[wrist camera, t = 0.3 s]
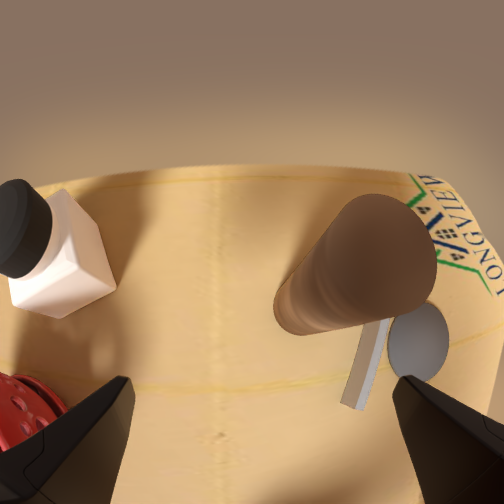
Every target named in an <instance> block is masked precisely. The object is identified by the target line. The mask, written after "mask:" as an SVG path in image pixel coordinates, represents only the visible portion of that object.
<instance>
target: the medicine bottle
mask: <svg viewBox="0 0 504 504" xmlns="http://www.w3.org/2000/svg"><path fill="white" fill-rule="evenodd" d="M0 274H2V275H4V276H7V277H8V279H9V286H10V292H11V298H12V303H13V305H14V306H15V307H18V308H21V309H25V310H28V311H32V312H35V313H39V314H43V315H46V316H50V317H54V318H58V319H61V318H63V317H65V316H67V315H69V314H70V313H72V312H74V311H76V310H78V309H80V308H82V307H84V306H86V305H88V304H90V303H92V302H93V301H95V300H97V299H99V298H101V297H103V296H105V295H107V294H109V293H111V292H113V291H115V290H116V288H117V286H116V283H115V280H114V277H113V274H112V271H111V268H110V265H109V262H108V259H107V256H106V253H105V249H104V246H103V243H102V239H101V236H100V232H99V228H98V225H97V224H96V223H95V221H94V220H93V219H92V218H91V217H90V216H89V215H88V214H87V213H86V212H85V211H84V210H83V209H82V207H81V206H80V205H79V204H78V203H77V202H76V201H75V200H74V199H73V197H72V196H71V195H70V194H69V193H68V192H67V191H66V190H65V189H61V190H59V191H57V192H56V193H54V194H53V195H51V196H49V197H48V198H46V199H45V200H44V199H43V198H42V197H41V196H40V195H39V194H38V193H37V192H36V191H35V190H34V189H33V188H32V187H31V186H30V184H29V183H27V182H26V181H25V180H22V179H14V180H10V181H7V182H5V183H4V184H2V185H1V186H0Z"/></svg>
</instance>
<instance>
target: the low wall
mask: <svg viewBox="0 0 504 504" xmlns="http://www.w3.org/2000/svg"><path fill="white" fill-rule="evenodd" d="M389 321H390V318H388V319H384V320H379V321H375V322H371V323H366V324H364V328H363V332H362V336H361V339H360V343H359V346H358V350H357V353H356V357H355V360H354V363H353V367H352V370H351V373H350V376H349V379H348V382H347V385H346V388H345V391H344V394H343V397H342V399H341V402H340V403H342V404H344V405H347V406H349V407H351V408H353V409H357V410H362V411H363V410H364V408H365V405H366V402H367V399H368V396H369V393H370V390H371V387H372V384H373V381H374V378H375V374H376V371H377V368H378V364H379V361H380V357H381V353H382V350H383V346H384V342H385V338H386V334H387V330H388V325H389Z"/></svg>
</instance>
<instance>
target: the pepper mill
mask: <svg viewBox="0 0 504 504" xmlns="http://www.w3.org/2000/svg"><path fill="white" fill-rule="evenodd" d="M436 273H437V257H436V251H435V247H434V244H433V241H432V238H431V236H430V234H429V232H428V230H427V228H426V226H425V225H424V223H423V222H422V220H421V219H420V218H419V217H418V216H417V214H416V213H415V212H414V211H413V210H411V209H410V208H409V207H408V206H406V205H405V204H404V203H402V202H400V201H399V200H397V199H394V198H392V197H389V196H386V195H381V194H368V195H363V196H360V197H357V198H355V199H353V200H352V201H351V202H349V203H348V204H347V205H346V206H345V207H344V208H343V209H342V211H341V212H340V213H339V215H338V216H337V217H336V219H335V220H334V221H333V222H332V224H331V225H330V226H329V228H328V229H327V230H326V232H325V233H324V234H323V235H322V237H321V238H320V239H319V241H318V242H317V243H316V244H315V246H314V247H313V248H312V249H311V251H310V252H309V253H308V255H307V256H306V257H305V258H304V260H303V261H302V262H301V263H300V265H299V266H298V267H297V268H296V270H295V271H294V272H293V273H292V274H291V276H290V277H289V278H288V279H287V281H286V282H285V283H284V284H283V285H282V287H281V288H280V289H279V290H278V292H277V294H276V296H275V299H274V304H273V310H274V315H275V318H276V320H277V322H278V323H279V325H280V326H281V327H282V328H283V329H284V330H286V331H287V332H289V333H291V334H294V335H300V336H304V335H310V334H316V333H322V332H327V331H332V330H338V329H343V328H348V327H352V326H357V325H362V324H366V323H371V322H375V321H379V320H384V319H388V318H392V317H396V316H400V315H403V314H407V313H410V312H412V311H414V310H415V309H417V308H418V307H420V306H421V305H422V304H423V303H424V302H425V301H426V299H427V298H428V296H429V295H430V293H431V291H432V289H433V286H434V283H435V279H436Z"/></svg>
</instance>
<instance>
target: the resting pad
mask: <svg viewBox="0 0 504 504" xmlns="http://www.w3.org/2000/svg"><path fill="white" fill-rule="evenodd" d="M448 347H449V332H448V327H447V324H446V321H445V319H444V317H443V315H442V314H441V312H440V311H439V310H438V309H437V308H436V307H434V306H433V305H431V304H429V303H425V302H424V303H423V304H422V305H421V306H420V307H418V308H417V309H415V310H414V311H412V312H410V313H407V314H403V315H400V316H397V317H396V318H395V320H394V322H393V324H392V326H391V329H390V332H389V336H388V357H389V361H390V364H391V366H392V368H393V370H394V372H395V373H396V374H397V376H398V377H401V376H404V375H413V376H415V377H417V378H418V379H420V380H422V381H424V382H425V381H428V380H429V379H431V378H432V377H433V376H435V375H436V374H437V372H438V371H439V370H440V369H441V367H442V365H443V363H444V361H445V359H446V356H447V352H448Z"/></svg>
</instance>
